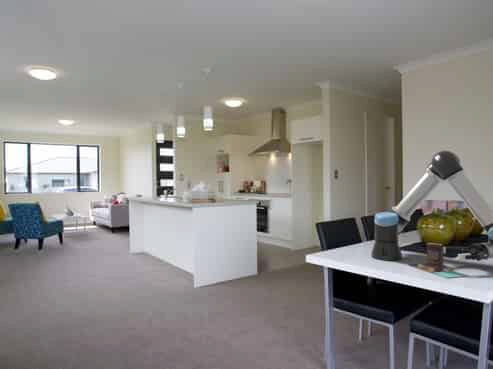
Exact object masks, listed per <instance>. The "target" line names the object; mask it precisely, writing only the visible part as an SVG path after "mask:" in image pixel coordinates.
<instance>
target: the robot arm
mask: <svg viewBox="0 0 493 369" xmlns="http://www.w3.org/2000/svg"><path fill="white" fill-rule="evenodd" d="M425 170H426V171H425V173H424V174H423V176H422V177H421V178H420V179H419V180H418V181H417V182H416V183H415V185H414V186H413V187H412V188H411V189H410V190H409V192H407V193H406V195H404V197H403V198H402V200H401V201H400V202H399V203H398V204H397V205H396V206H391V208H390V209H388V211H385V212H377V213H376V214H375V215H374V221H373V222H374V243H373V247H372V249H371V258H373V259H376V260H381V261H401V260H402V259H403V252H402V250H401V247H400V245H399V233H401V232H402V231H403V230H404V229H405V227H406V226H407V225H408V224H409V222H410V221H411V216H412V215H413V214H414V212H415V211H416V210H418V208H419V207H420V206H421V205H422V203H423V202H425V201H426V199H427V198H428V197H429V196H430V195H431V194H432V192H434V190H435V189H436V188H437V187H438V186H439V185H440V184H441V183H444V182H446V183H448V184H449V185H450V186H451V187H452V189H453V191H455V192H456V194H457V195H458V196H459V198H460V200H461V201H462V202H463V204H465V206H466V208H468V211H470V213H471V214H472V215H473V216H474V217H475V219H476V220H477V222H479V224H480V225H481V227H482V229H483V230H484V231H486V233H487V235H488V239H487V240H488V242H480V243H472V244H470V246H467V247H464V246H447V245H446V246H444V245H443V255H446V254H457V261H458V262H459V261H471V260H473V261H475V260H476V261H477V262H481V261H482V260H485V261H486V260H487V261H488V260H490V259H493V209H492V207H491V206H490V205H489V203H488V202H487V201H486V200H485V199H484V197H483V196H482V195H481V194H480V192H479V191H478V190H477V188H476V187H475V185H474V184H473V183H472V182H471V180H470V179H469V178H468V176H466V174H465V173H464V172H465V169H464V167H462V165H461V160H460V158H459V156H458V155H457V154H456V153H454V152H452V151H450V150H440V151H439V152H437V153H435V154H434V155H433V156H432V158H431V162H430V163H429V164H428V165H427V166H426V168H425Z"/></svg>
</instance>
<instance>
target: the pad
mask: <svg viewBox="0 0 493 369" xmlns="http://www.w3.org/2000/svg"><path fill="white" fill-rule="evenodd" d="M432 274H433V275H436V276H438V277H442V278H444V279H453V278H463V277H469V275H468V274H465V273H461V272H458V271H455V270H453V271H447V270H444V271H442V272H440V271H435V273H432Z"/></svg>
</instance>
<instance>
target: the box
mask: <svg viewBox="0 0 493 369" xmlns="http://www.w3.org/2000/svg"><path fill="white" fill-rule="evenodd" d="M443 246H444V244H443V243H435V242H434V243H433V242H427V243H426V263H427V267H430V268H434V269H435V272H444V269H443V264H444V254H443Z"/></svg>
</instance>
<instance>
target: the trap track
mask: <svg viewBox="0 0 493 369" xmlns="http://www.w3.org/2000/svg"><path fill="white" fill-rule="evenodd" d="M408 266H409V267H413V268H415V269H419V270H421V271H424V272H427V273H430V274H433V273H435V272H436V271H435V269H434V268H430V267H427V262H422V263H413V264H412V263H411V264H408ZM443 271H454V267H453V266H450V265H447V264H444V263H443Z"/></svg>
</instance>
